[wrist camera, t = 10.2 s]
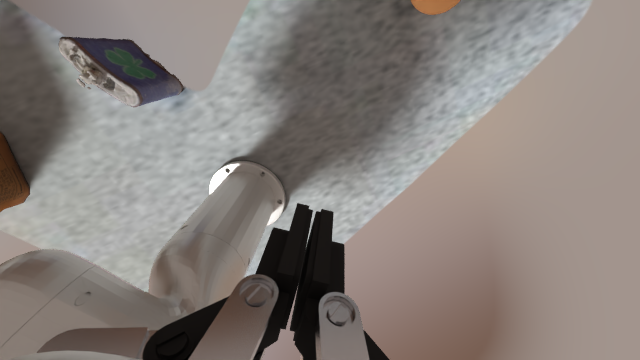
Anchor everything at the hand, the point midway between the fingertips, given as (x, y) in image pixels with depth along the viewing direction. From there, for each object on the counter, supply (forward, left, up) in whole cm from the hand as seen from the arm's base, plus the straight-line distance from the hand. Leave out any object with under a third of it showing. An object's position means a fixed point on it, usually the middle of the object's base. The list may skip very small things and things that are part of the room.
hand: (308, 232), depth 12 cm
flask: (-10, +23, -27) cm, 37 cm away
